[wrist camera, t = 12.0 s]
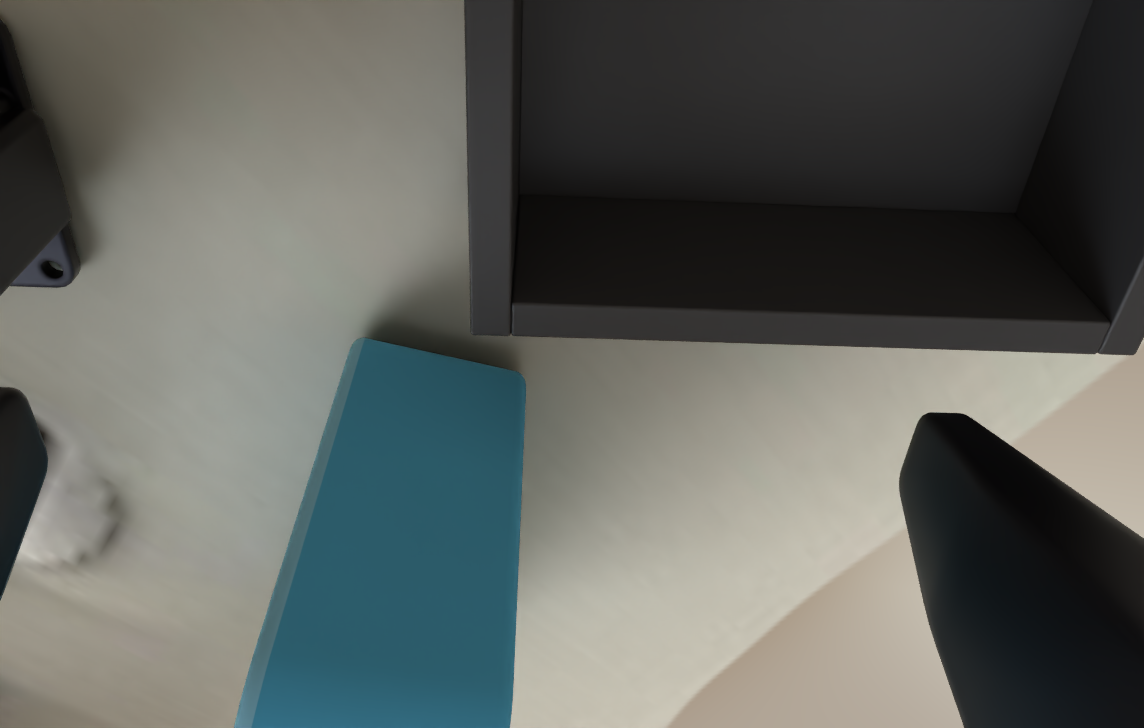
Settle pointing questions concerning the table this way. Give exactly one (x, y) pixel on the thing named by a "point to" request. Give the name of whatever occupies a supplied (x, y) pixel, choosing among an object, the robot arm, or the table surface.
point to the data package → (400, 554)
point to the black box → (809, 172)
